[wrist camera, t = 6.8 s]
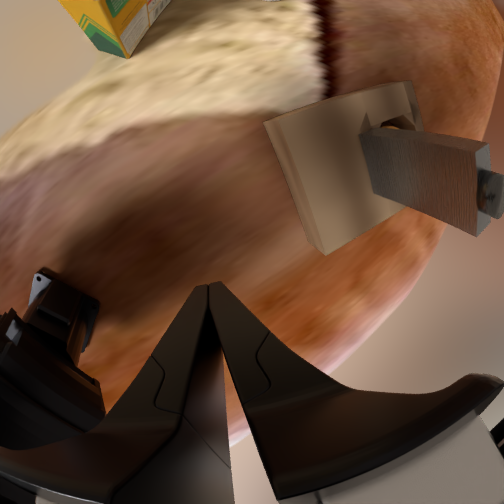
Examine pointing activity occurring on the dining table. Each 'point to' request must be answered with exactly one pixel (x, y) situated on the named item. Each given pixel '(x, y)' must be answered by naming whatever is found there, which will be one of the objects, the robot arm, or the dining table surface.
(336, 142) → the board
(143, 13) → the crayon box
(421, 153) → the grey piece
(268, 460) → the robot arm
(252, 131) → the dining table surface
